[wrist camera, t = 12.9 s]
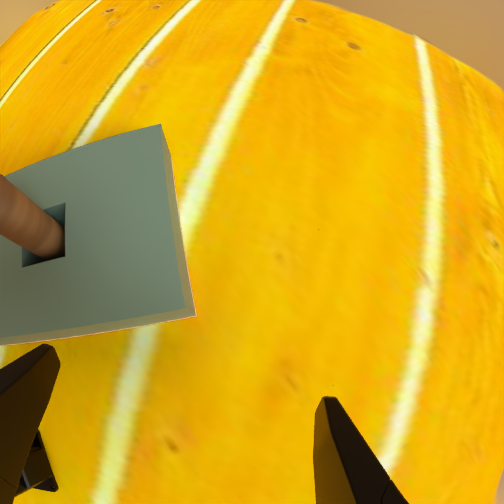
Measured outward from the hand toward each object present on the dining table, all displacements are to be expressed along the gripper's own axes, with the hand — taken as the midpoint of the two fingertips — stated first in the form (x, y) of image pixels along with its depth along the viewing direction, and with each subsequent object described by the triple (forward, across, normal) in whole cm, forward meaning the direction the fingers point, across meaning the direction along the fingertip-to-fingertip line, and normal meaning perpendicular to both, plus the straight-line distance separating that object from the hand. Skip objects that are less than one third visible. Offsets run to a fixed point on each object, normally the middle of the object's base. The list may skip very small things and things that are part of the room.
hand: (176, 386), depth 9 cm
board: (+14, +14, +5) cm, 20 cm away
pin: (+14, +14, +5) cm, 20 cm away
